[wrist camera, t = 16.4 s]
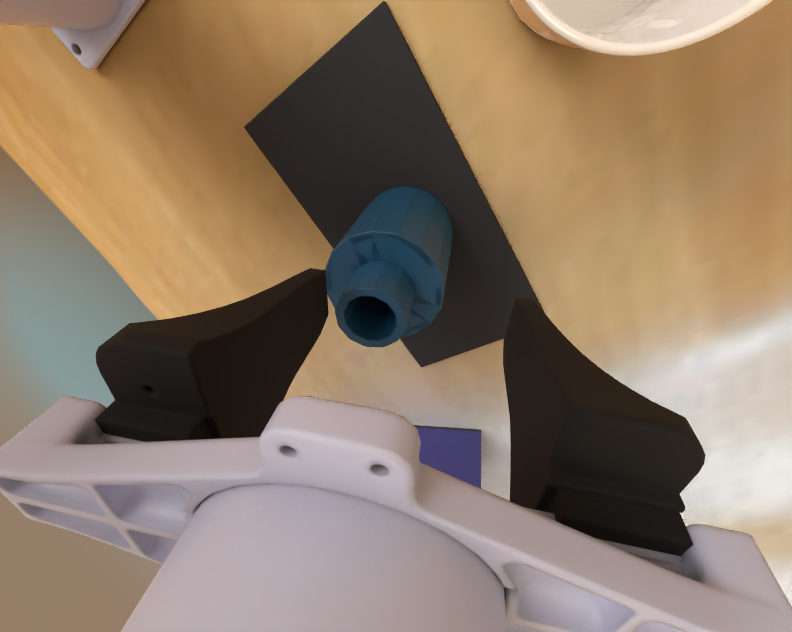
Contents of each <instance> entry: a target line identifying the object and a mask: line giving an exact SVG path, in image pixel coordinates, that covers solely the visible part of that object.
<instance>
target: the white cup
mask: <svg viewBox="0 0 792 632" xmlns="http://www.w3.org/2000/svg"><path fill="white" fill-rule="evenodd" d="M509 1H510V3H511V5H512V6H513V8H514V10H515V11H516V13H517V15H518V17H519V19H520V20H521V21H522V22H524V23H525V24H527V25H528V26H529V27H530V28H531V29H532V30H533V31H534V32H536V33H537V34H539V35H541V36H542V37H544V38H547V39H549V40H551V41H554V42H556V43H559V44H562V45H565V46H569V47H574V48H579V49H585V50H590V51H594V52H599V53H603V54H609V55H619V56H640V55H650V54H657V53H662V52H667V51H671V50H675V49H679V48H682V47H685V46H688V45H691V44H694V43H697V42H699V41H702V40H704V39H707V38H709V37H711V36H714V35H716V34H718V33H720V32H722V31H724V30H726V29H728V28H730V27H732V26H733V25H735V24H737V23H739V22H741V21H742V20H744V19H746V18H747V17H749V16H751V15H752V14H754V13H755V12H757V11H758V10H760V9H761V8H763V7H764V6H766V5H767V4H769V3H770V2H771V1H773V0H509Z"/></svg>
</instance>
